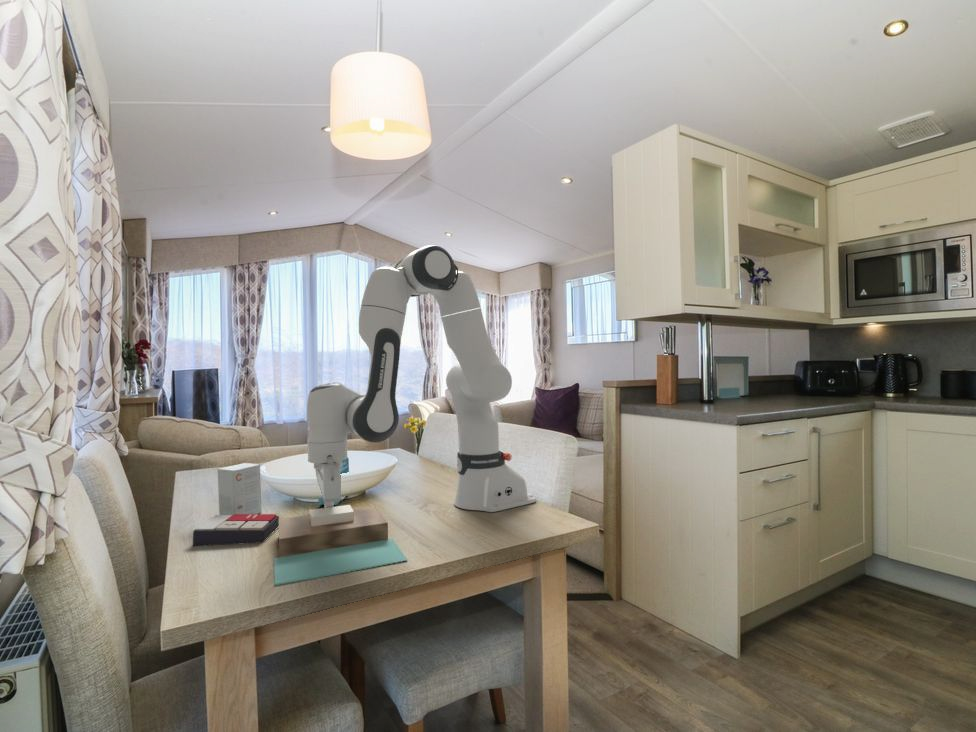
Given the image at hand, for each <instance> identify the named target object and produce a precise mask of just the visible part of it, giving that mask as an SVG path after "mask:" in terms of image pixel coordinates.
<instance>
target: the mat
mask: <svg viewBox="0 0 976 732" xmlns="http://www.w3.org/2000/svg"><path fill="white" fill-rule="evenodd" d="M273 559H274V565H273V566H274V567H273V568H274V570H273V571H274V572H273V573H274V578H273V579H274V587H276V586H282V585H288V584H291V583H298V582H303V581H308V580H309V581H310V580H314V579H319V578H325V577H330V576H335V575H340V574H341V573H342V574H346V572H347V573H351V571H352V572H357V571H356V570H358V571H363V570H368V569H373V567H374V568H379V567H383V565H385V566H389V565H388V564H390V565H394V564H393V563H395V564H399V563H398V562H401V563H404V562H403V561H406V562H408V559H407V557H406V555H405V554H404V553H403V551H402V550H401V548H400V547H399V545H398V544H397V542H396V541H395V540H394V539H393V538H388V539H387V540H381V541H375V542H369V543H363V544H357V545H351V546H345V547H339V548H333V549H327V550H321V551H314V552H308V553H302V554H296V555H290V556H284V557H280V556H279V557H274V558H273ZM378 566H379V567H378ZM367 568H368V569H367ZM362 569H363V570H362ZM342 574H341V575H342Z"/></svg>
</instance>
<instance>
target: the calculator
mask: <svg viewBox="0 0 976 732" xmlns="http://www.w3.org/2000/svg"><path fill="white" fill-rule="evenodd" d="M278 519H280V517H279V515H277V514H276V513H271V514H270V513H259V514H234V515H233V516H232V515H219V514H216V515H214V516H213V517H211V518H210V519H208V520H207V521H205V522H204V523H203V524H201V525H199V526H198V527H196V528H195V529H194V530H193V531H192V547H203V546H204V545H207V546H214V545H239V543H244V544H257V543H256V542H262V543H264V542H265V541H266V540H267V539H268V538H269V537H270V536H271V535H272V534H273V533H274V532H275V531H276V530H277V529H278V528H279V527H278V526H279V520H278ZM277 527H278V528H277ZM276 528H277V529H276ZM275 529H276V530H275ZM274 530H275V531H274ZM273 531H274V532H273ZM272 532H273V533H272ZM271 533H272V534H271ZM270 534H271V535H270ZM269 535H270V536H269ZM268 536H269V537H268ZM267 537H268V538H267ZM266 538H267V539H266ZM265 539H266V540H265ZM264 540H265V541H264ZM263 541H264V542H263ZM204 547H205V546H204Z"/></svg>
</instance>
